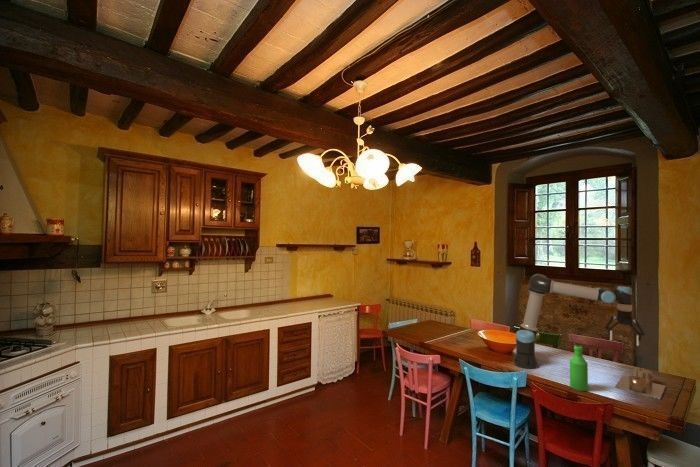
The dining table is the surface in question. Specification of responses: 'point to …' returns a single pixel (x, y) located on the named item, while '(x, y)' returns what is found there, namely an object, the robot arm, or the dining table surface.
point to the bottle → (578, 371)
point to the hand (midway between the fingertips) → (624, 342)
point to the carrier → (640, 386)
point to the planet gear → (643, 374)
